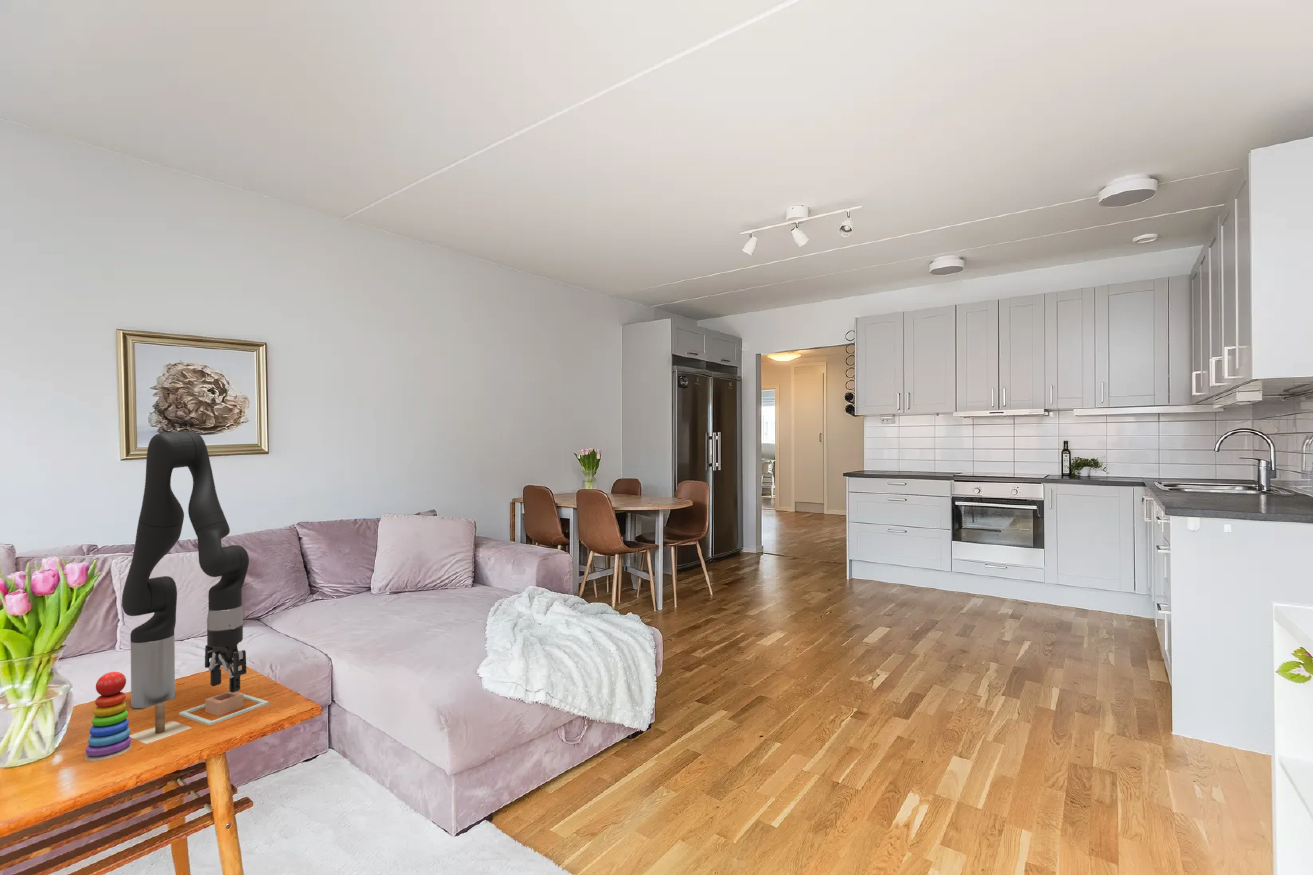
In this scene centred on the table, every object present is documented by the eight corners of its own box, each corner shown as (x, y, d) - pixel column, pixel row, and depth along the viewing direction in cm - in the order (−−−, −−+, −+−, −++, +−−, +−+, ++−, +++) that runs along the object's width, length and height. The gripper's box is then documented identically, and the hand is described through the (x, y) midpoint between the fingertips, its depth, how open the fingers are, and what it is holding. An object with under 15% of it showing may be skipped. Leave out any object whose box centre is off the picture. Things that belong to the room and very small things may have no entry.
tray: (179, 720, 155) (178, 712, 155) (238, 699, 167) (238, 692, 167) (209, 731, 148) (209, 723, 148) (269, 709, 161) (268, 701, 161)
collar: (205, 714, 157) (205, 698, 157) (234, 704, 163) (234, 689, 163) (218, 719, 154) (217, 703, 154) (247, 708, 160) (247, 693, 160)
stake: (127, 742, 144) (127, 707, 144) (172, 726, 152) (172, 693, 152) (146, 750, 139) (146, 715, 140) (191, 733, 147) (191, 700, 148)
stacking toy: (104, 769, 132) (103, 680, 132) (74, 766, 133) (73, 678, 133) (141, 751, 139) (141, 667, 140) (113, 748, 141) (112, 665, 141)
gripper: (193, 624, 159) (193, 688, 158) (225, 632, 152) (225, 698, 152) (225, 617, 165) (225, 678, 165) (256, 624, 159) (256, 688, 159)
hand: (225, 688), depth 159 cm, fingers open, 8 cm apart
